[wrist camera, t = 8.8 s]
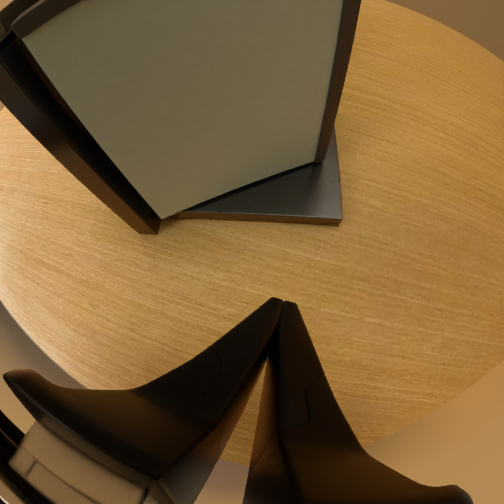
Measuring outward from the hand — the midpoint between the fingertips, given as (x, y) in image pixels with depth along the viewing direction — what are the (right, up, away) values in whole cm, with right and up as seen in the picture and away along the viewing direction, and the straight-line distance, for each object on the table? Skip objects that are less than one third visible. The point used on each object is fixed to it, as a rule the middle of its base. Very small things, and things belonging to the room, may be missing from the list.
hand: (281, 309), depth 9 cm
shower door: (-2, +7, +10) cm, 12 cm away
